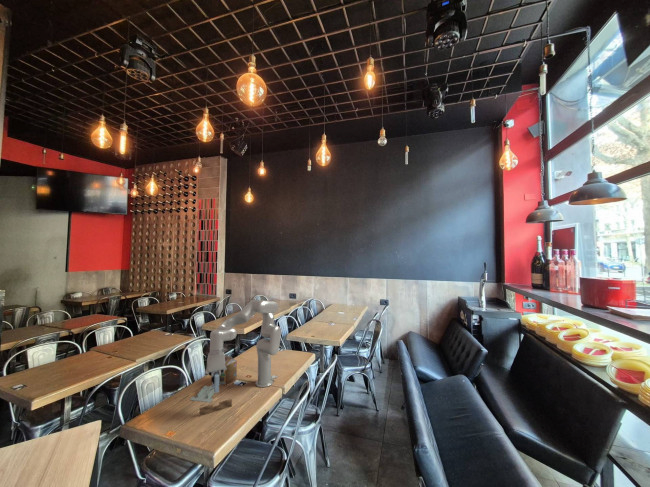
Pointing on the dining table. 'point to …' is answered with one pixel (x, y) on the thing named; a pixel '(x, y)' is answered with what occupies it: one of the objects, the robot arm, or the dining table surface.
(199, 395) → the metal bracket
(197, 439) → the dining table surface
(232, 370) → the milk carton
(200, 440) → the dining table surface
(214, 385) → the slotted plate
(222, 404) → the walnut board
